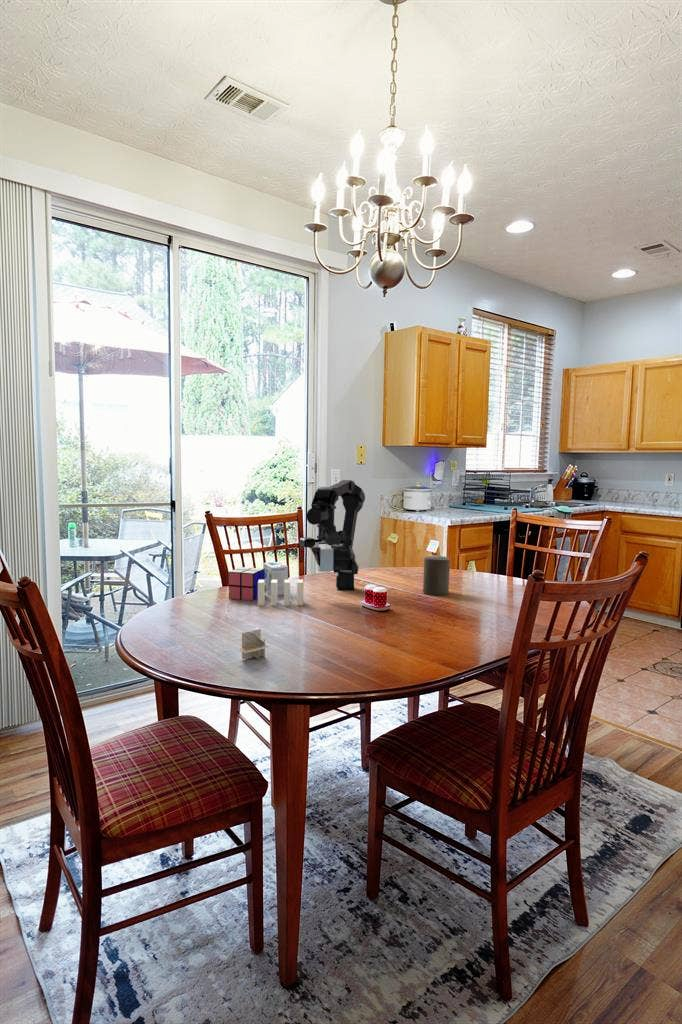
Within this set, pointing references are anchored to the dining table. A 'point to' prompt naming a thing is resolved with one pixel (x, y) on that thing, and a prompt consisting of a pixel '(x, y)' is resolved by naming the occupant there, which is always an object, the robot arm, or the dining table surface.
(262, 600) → the domino
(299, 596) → the domino
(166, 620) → the dining table surface
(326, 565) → the domino
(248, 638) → the architectural model
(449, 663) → the dining table surface
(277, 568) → the light bulb box
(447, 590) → the dark grey cylinder
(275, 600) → the domino
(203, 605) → the dining table surface
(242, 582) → the puzzle cube
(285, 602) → the domino
